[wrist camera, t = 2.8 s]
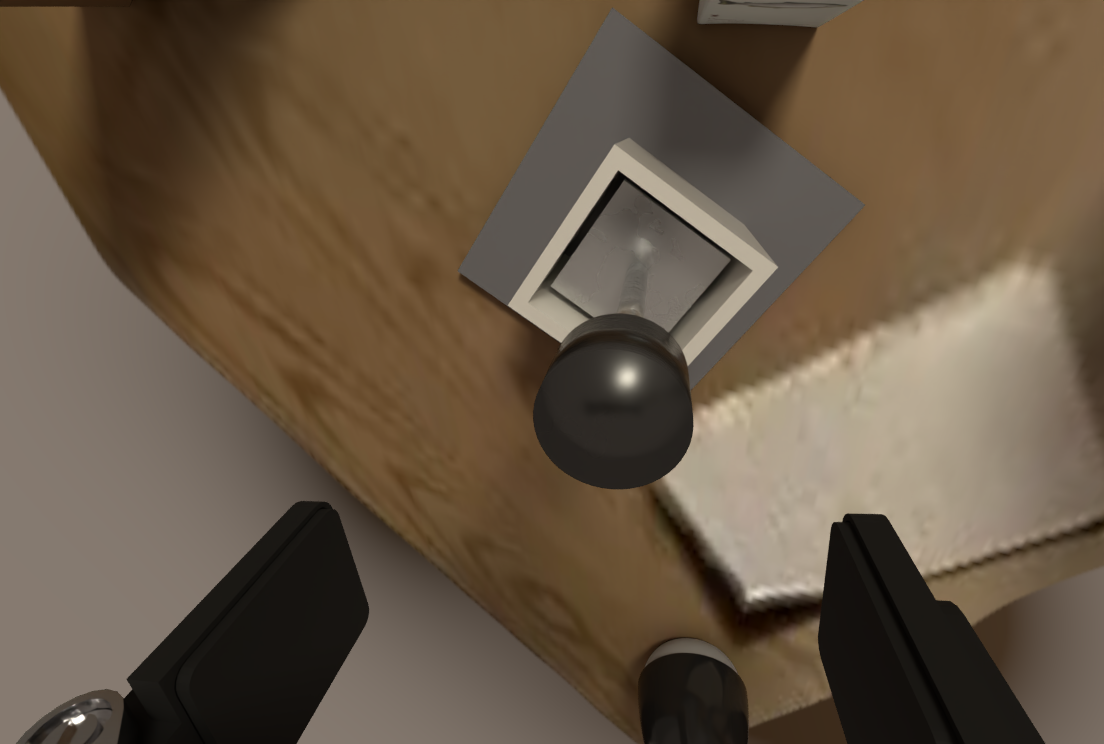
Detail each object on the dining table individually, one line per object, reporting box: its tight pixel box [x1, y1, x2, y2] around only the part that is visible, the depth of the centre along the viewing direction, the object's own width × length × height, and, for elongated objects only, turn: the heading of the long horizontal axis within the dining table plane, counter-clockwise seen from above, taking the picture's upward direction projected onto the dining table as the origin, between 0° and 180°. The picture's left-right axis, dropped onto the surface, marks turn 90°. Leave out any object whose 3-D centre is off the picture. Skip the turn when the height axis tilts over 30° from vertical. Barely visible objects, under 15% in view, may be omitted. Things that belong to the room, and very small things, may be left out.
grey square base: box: [458, 8, 865, 390], centre depth 33 cm, size 20×20×13 cm
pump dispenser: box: [638, 638, 749, 744], centre depth 49 cm, size 10×10×15 cm
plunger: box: [533, 179, 731, 489], centre depth 23 cm, size 7×7×17 cm
